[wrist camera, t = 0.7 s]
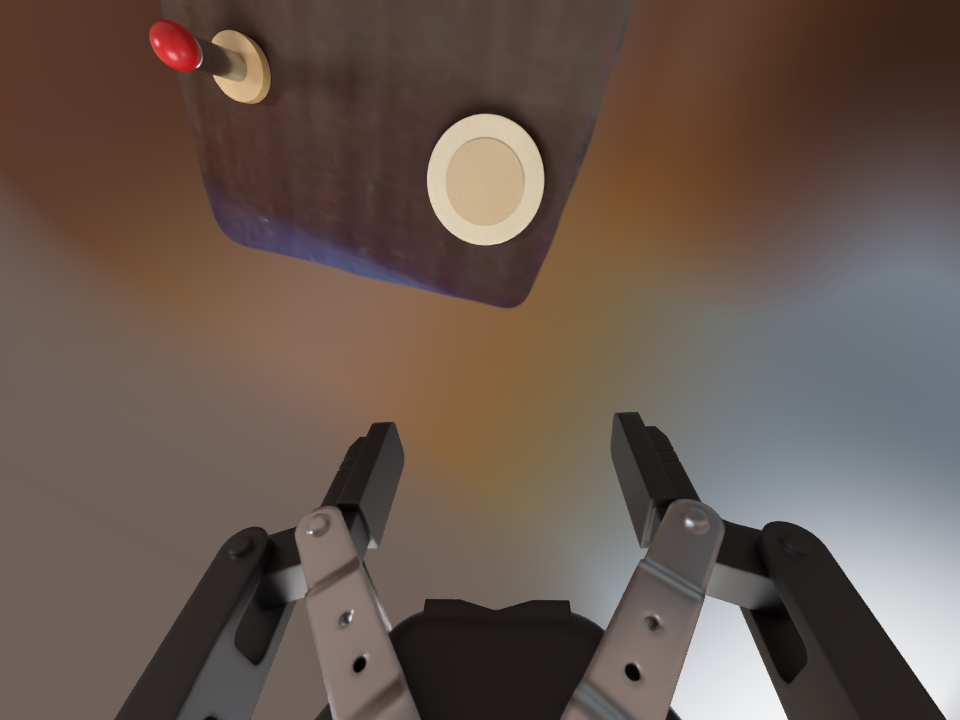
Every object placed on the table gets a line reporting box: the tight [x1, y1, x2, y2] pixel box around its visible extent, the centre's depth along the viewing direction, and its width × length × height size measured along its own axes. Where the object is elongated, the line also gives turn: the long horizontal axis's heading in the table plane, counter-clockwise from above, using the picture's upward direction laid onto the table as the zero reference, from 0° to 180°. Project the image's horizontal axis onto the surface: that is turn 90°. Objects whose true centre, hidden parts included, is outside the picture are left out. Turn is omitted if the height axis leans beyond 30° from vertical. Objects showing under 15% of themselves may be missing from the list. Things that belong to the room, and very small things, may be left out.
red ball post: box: [149, 20, 271, 104], centre depth 33 cm, size 6×6×9 cm
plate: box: [427, 114, 544, 245], centre depth 38 cm, size 12×12×1 cm
